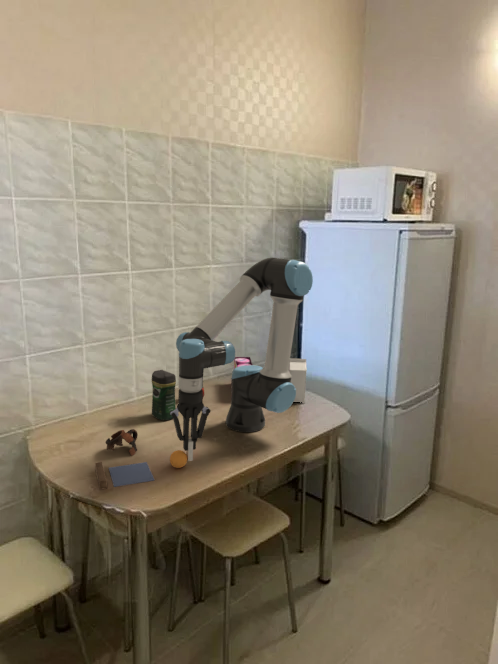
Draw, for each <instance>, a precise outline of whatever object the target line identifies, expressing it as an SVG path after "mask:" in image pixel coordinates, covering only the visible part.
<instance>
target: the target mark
mask: <svg viewBox="0 0 498 664" xmlns="http://www.w3.org/2000/svg"><path fill="white" fill-rule="evenodd" d="M108 472H109V474H110V478H111V481H112V485H113V487H114V488H116V487H122V486H127V485H135V484H142V483H146V482H147V483H148V482H153V481H155V478H154V475H153V473H152V470H151V469H150V466H149V463H148V462H147V461H143V462H137V463H132V464H125V465H118V466H112V467H110V466H109V467H108Z"/></svg>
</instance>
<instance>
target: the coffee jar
mask: <svg viewBox="0 0 498 664" xmlns="http://www.w3.org/2000/svg"><path fill="white" fill-rule="evenodd" d="M176 383H177V378H176V374H174V373H171V372H169V371H167V370H163V369H158V370H154V371H153V372H152V373H151V387H152V401H151V416H152V417H154V418H156V419H157V420H159V421H170V420H173V417H172V416H171V414H170V411H174V410H175V409H176V408H177V405H176Z"/></svg>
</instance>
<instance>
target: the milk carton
mask: <svg viewBox="0 0 498 664" xmlns="http://www.w3.org/2000/svg"><path fill="white" fill-rule="evenodd" d="M307 368H308V367H307V358H291V357H290V361H289V368H288V371H289V373H290V374H291V376H292V377H291V383H292V384H293V385H294V386H295V388H296V396H295V400H294V402H300V403H299V404H304V403H305V401H306V400H305V399H306V386H307ZM301 402H302V403H301ZM303 402H304V403H303Z"/></svg>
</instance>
